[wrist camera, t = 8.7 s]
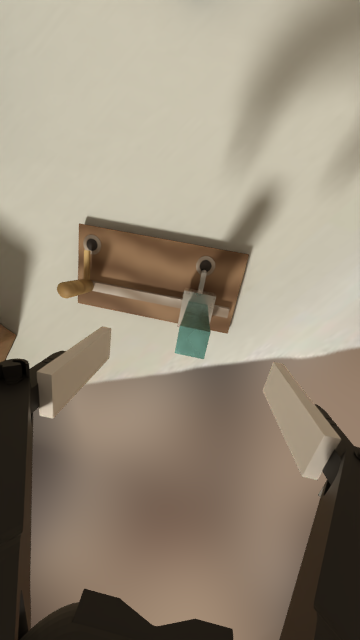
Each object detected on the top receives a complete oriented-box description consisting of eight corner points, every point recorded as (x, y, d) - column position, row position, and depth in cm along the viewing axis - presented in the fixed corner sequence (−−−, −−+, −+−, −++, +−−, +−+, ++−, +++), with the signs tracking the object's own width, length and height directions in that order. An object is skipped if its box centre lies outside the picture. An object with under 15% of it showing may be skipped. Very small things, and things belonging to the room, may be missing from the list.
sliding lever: (189, 266, 33) (178, 272, 18) (219, 272, 33) (233, 283, 17) (180, 319, 36) (163, 363, 20) (207, 324, 35) (210, 373, 20)
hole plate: (84, 225, 35) (46, 214, 26) (247, 254, 33) (261, 253, 25) (82, 301, 39) (50, 312, 31) (226, 330, 37) (233, 350, 29)
